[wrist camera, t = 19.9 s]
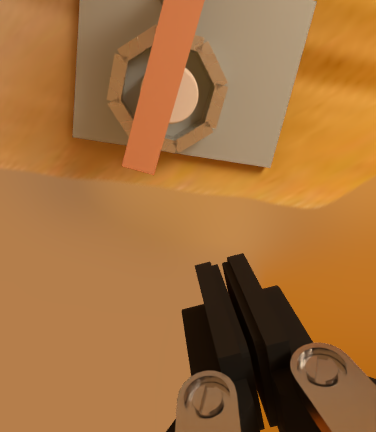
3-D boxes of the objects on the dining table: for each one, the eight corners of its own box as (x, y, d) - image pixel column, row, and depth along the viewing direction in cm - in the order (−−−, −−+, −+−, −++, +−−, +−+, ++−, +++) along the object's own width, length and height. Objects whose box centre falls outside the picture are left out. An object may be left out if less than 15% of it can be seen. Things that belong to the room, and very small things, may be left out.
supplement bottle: (199, 92, 33) (216, 99, 26) (164, 125, 34) (170, 141, 27) (166, 51, 32) (173, 46, 24) (130, 87, 33) (126, 93, 25)
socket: (89, 69, 32) (85, 69, 29) (186, 7, 30) (189, 2, 28) (149, 163, 36) (149, 170, 33) (236, 111, 35) (243, 114, 32)
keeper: (175, -91, 20) (178, -105, 19) (230, -66, 21) (238, -77, 20) (115, 158, 26) (113, 164, 24) (160, 171, 27) (161, 178, 25)
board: (74, 135, 35) (49, 158, 26) (85, -64, 29) (57, -125, 19) (266, 165, 39) (304, 195, 29) (313, -5, 32) (379, -34, 23)
